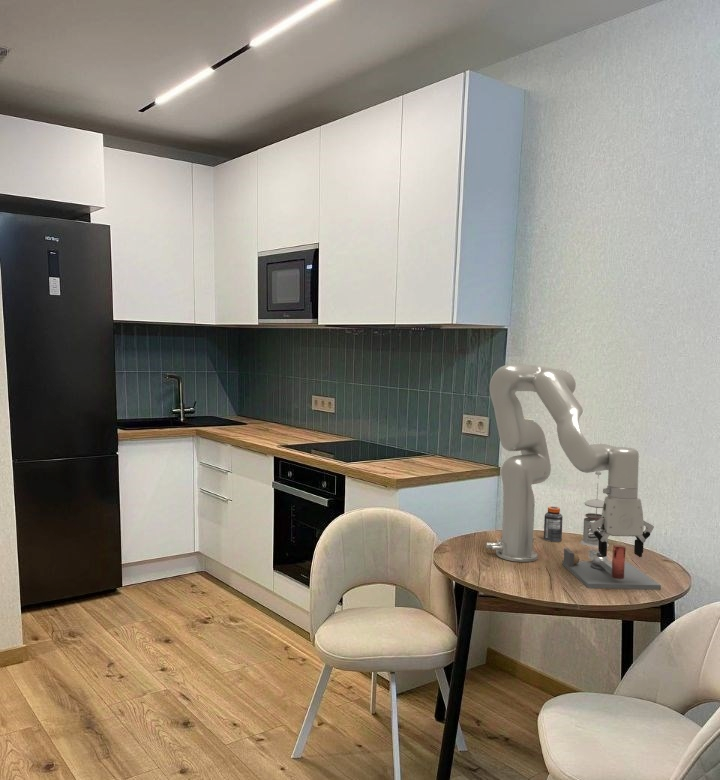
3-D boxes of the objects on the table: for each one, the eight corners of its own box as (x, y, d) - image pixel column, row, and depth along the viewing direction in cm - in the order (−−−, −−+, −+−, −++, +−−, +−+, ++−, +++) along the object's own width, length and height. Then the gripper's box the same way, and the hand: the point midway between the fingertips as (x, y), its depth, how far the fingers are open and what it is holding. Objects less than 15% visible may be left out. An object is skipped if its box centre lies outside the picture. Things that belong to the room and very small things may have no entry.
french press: (575, 539, 220) (578, 468, 219) (607, 540, 221) (611, 469, 219) (586, 548, 210) (589, 473, 209) (620, 548, 211) (624, 474, 210)
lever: (612, 579, 172) (613, 547, 172) (585, 557, 192) (586, 529, 191) (628, 579, 172) (629, 548, 172) (599, 558, 192) (601, 529, 191)
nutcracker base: (587, 587, 172) (588, 568, 172) (562, 564, 192) (563, 547, 192) (660, 589, 172) (661, 570, 172) (627, 565, 192) (628, 548, 192)
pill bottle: (549, 536, 223) (550, 504, 223) (564, 540, 219) (566, 507, 218) (540, 539, 219) (541, 506, 219) (556, 543, 215) (557, 510, 214)
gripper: (596, 495, 169) (594, 559, 169) (660, 496, 169) (658, 559, 170) (585, 490, 176) (584, 551, 177) (647, 490, 177) (645, 551, 177)
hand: (620, 555), depth 173 cm, fingers open, 9 cm apart
